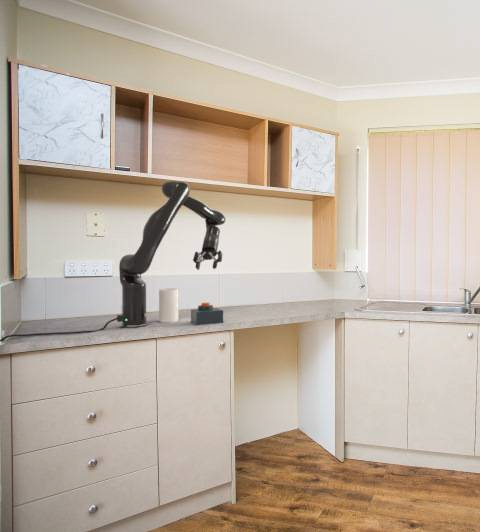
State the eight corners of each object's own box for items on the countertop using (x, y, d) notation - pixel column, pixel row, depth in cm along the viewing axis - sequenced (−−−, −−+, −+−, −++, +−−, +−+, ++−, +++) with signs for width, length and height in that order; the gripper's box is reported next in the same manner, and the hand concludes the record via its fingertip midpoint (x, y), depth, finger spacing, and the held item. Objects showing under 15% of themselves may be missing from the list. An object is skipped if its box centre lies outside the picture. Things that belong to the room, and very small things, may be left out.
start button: (202, 307, 193) (202, 303, 193) (200, 306, 196) (200, 302, 196) (210, 306, 195) (210, 303, 195) (208, 305, 198) (208, 302, 198)
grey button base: (196, 325, 186) (196, 308, 185) (190, 321, 194) (190, 305, 194) (223, 322, 193) (223, 306, 193) (216, 319, 202) (216, 304, 202)
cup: (162, 319, 199) (162, 288, 198) (180, 319, 200) (180, 288, 200) (156, 322, 191) (156, 289, 190) (174, 322, 192) (174, 289, 192)
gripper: (194, 240, 214) (189, 265, 206) (221, 239, 215) (216, 264, 207) (200, 247, 220) (195, 272, 212) (226, 246, 221) (221, 271, 213)
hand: (205, 268), depth 209 cm, fingers open, 8 cm apart
